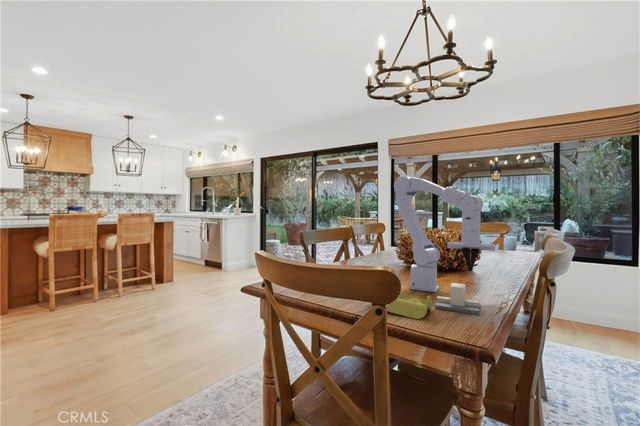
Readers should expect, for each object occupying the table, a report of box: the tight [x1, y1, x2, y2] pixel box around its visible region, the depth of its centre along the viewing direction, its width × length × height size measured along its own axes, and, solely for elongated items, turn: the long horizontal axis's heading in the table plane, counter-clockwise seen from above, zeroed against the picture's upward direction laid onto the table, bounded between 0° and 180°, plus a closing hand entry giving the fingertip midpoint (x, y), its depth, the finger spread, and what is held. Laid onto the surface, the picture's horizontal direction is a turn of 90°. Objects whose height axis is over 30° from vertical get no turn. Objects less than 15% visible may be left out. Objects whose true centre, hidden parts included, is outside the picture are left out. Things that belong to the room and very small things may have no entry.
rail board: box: [434, 295, 480, 316], centre depth 97 cm, size 12×10×2 cm
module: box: [449, 282, 466, 306], centre depth 97 cm, size 4×5×6 cm
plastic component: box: [386, 293, 434, 320], centre depth 95 cm, size 20×7×10 cm
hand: (470, 270), depth 106 cm, fingers closed
